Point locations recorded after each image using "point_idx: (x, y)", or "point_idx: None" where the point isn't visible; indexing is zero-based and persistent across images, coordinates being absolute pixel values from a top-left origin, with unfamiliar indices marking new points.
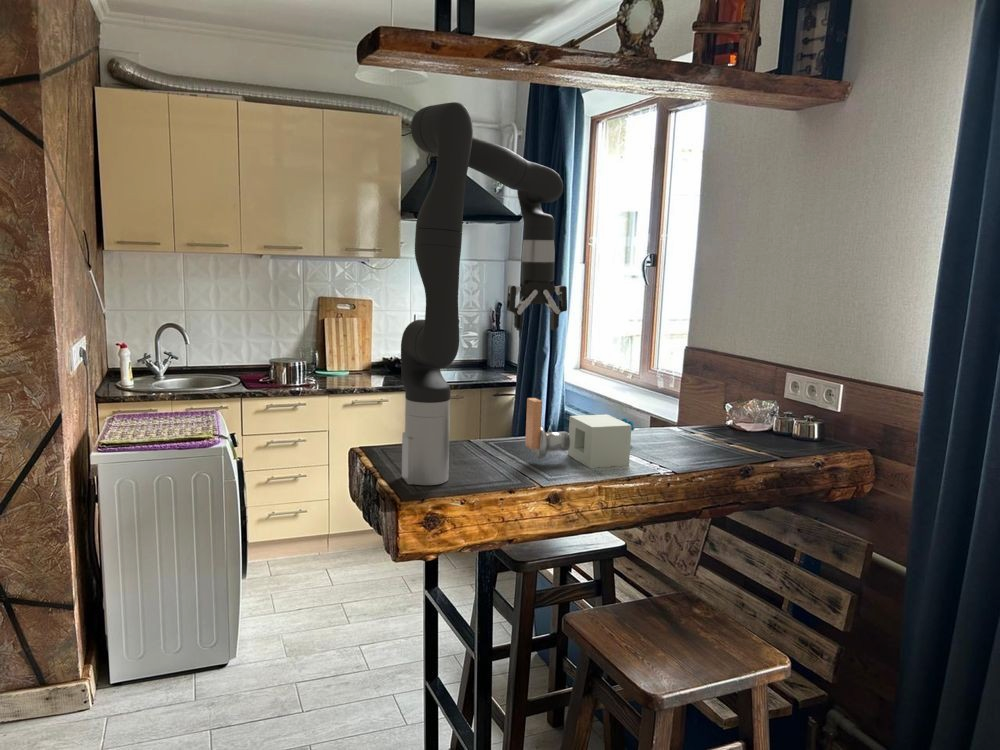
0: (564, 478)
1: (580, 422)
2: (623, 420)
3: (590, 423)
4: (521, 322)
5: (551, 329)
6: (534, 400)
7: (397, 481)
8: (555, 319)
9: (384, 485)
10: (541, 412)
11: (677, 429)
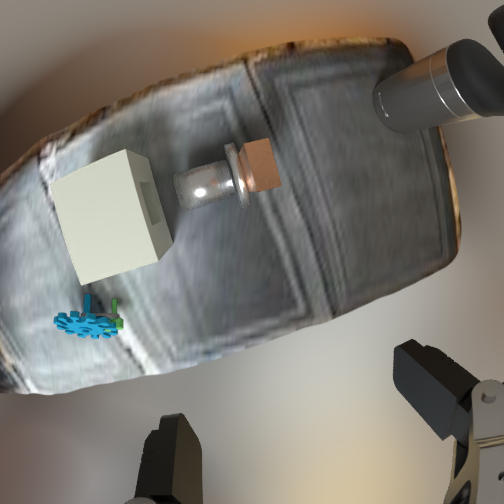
0: (202, 98)
1: (141, 205)
2: (63, 314)
3: (122, 186)
4: (430, 364)
5: (193, 432)
6: (264, 153)
7: None
8: (162, 465)
9: None
10: (241, 148)
11: (30, 385)
